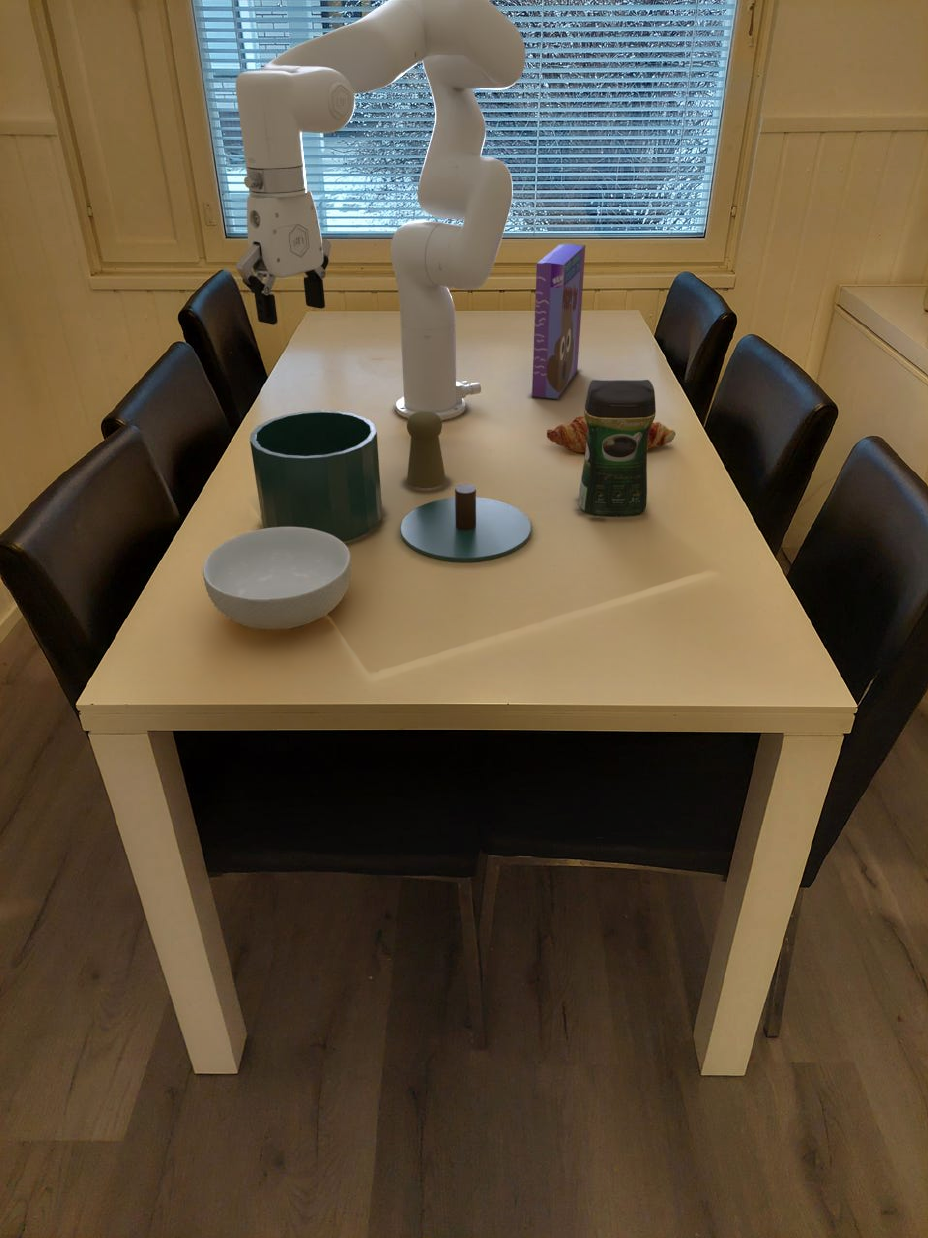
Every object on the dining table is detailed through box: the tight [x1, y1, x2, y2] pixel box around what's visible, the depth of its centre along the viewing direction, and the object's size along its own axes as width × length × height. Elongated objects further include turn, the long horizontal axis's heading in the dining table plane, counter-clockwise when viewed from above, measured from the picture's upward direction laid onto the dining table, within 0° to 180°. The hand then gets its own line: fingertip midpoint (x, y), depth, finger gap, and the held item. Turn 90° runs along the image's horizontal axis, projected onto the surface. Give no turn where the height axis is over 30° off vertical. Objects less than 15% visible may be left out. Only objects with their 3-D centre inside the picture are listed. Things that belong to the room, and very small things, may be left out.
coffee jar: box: [578, 379, 657, 518], centre depth 122 cm, size 10×8×19 cm
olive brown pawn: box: [406, 411, 447, 490], centre depth 131 cm, size 6×6×11 cm
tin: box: [249, 409, 383, 543], centre depth 121 cm, size 17×17×13 cm
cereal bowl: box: [202, 527, 352, 630], centre depth 103 cm, size 17×17×7 cm
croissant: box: [546, 415, 677, 453], centre depth 144 cm, size 21×10×8 cm, turn 94°
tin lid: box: [400, 484, 532, 563], centre depth 119 cm, size 18×18×7 cm
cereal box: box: [531, 242, 586, 401], centre depth 165 cm, size 17×5×24 cm, turn 161°
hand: (292, 314), depth 125 cm, fingers open, 9 cm apart
